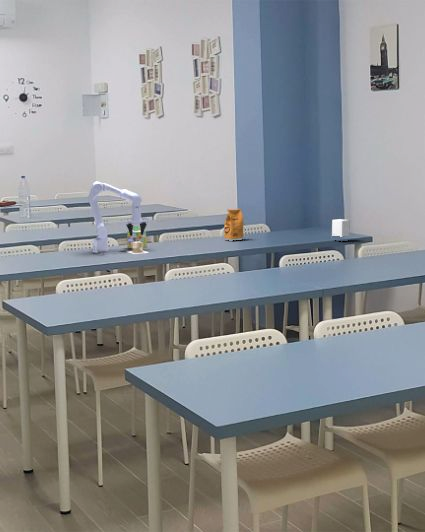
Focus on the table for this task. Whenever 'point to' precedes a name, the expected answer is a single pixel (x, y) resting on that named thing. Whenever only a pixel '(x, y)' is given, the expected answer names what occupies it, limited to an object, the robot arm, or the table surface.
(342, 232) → the supplement box
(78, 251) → the table surface
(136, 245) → the beech block
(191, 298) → the table surface
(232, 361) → the table surface
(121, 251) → the rail plate
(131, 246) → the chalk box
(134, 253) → the parts tray
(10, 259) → the table surface
